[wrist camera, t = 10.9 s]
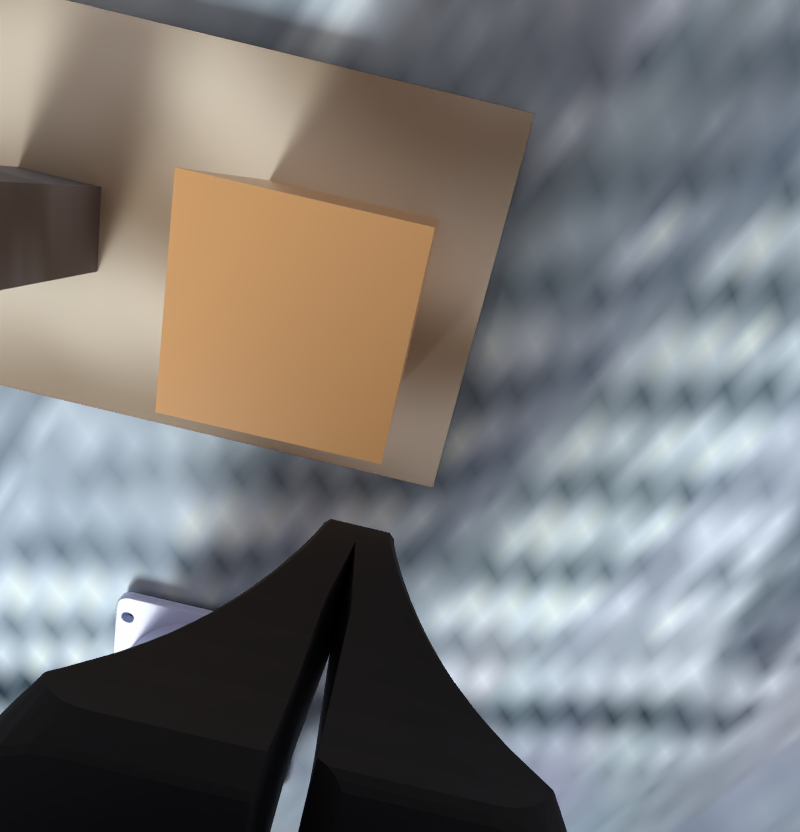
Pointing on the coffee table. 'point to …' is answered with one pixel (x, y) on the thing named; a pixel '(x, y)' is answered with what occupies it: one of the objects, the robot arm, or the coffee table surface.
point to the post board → (226, 154)
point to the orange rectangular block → (288, 311)
